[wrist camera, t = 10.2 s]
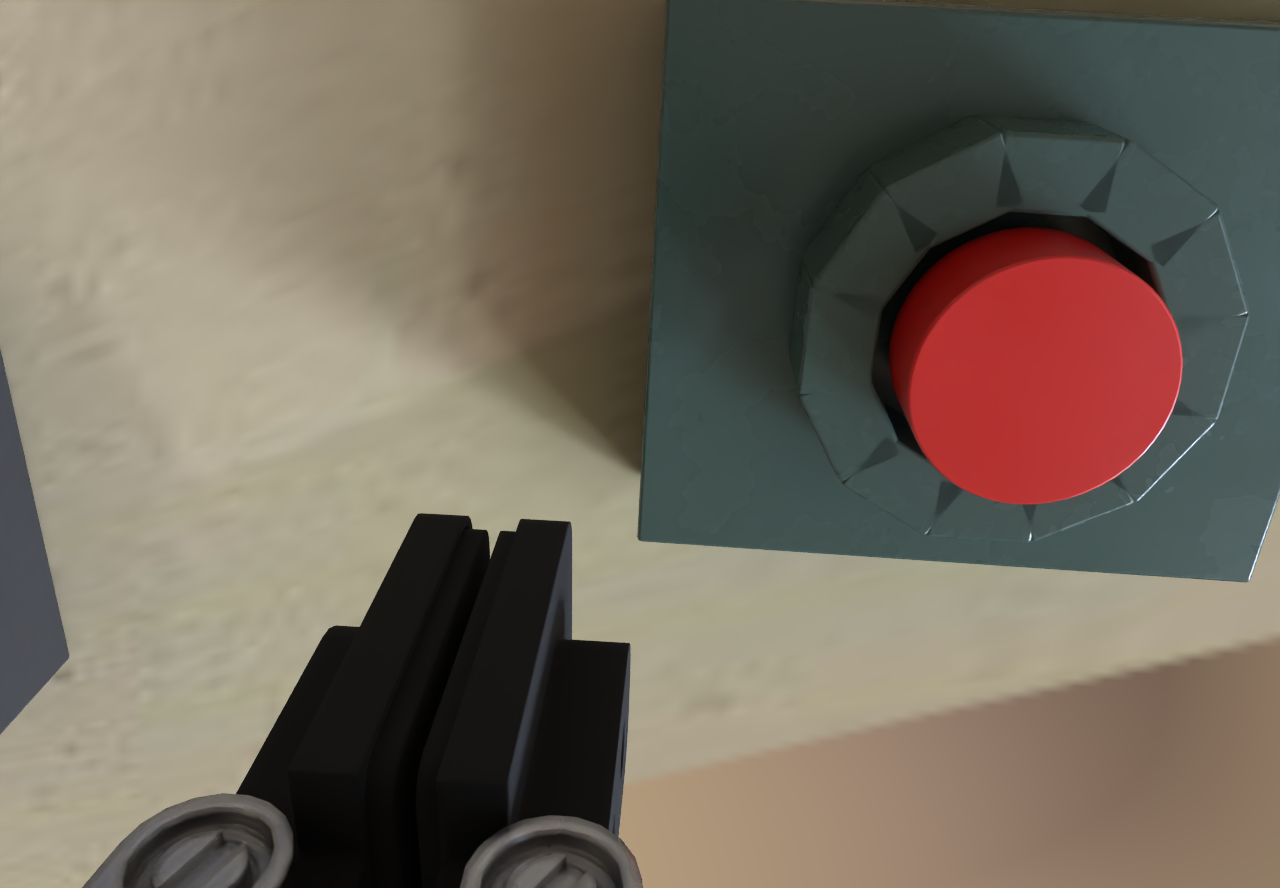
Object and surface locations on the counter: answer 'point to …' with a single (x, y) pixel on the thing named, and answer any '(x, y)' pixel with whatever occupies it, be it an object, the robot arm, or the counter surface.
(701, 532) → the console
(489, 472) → the counter surface
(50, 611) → the panel
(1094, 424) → the button
